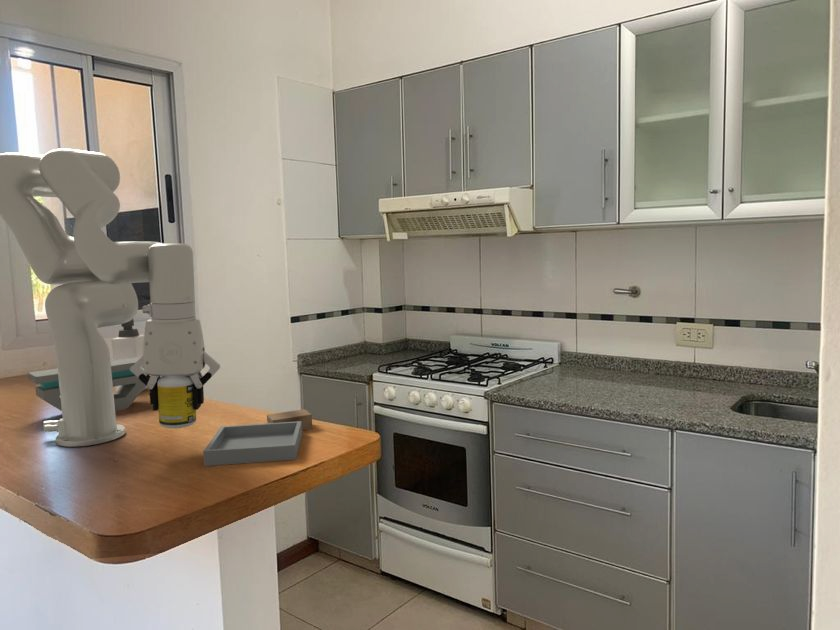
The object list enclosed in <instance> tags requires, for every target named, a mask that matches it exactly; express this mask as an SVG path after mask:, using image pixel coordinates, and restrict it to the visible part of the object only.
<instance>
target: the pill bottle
mask: <svg viewBox="0 0 840 630" xmlns="http://www.w3.org/2000/svg"><path fill="white" fill-rule="evenodd" d="M194 385H195V384H194V382H193V380H192V379H191V377H190V375H183V376H161V377H160V378H159V380H158V382H157V386H158V407H159V409H158V424H159V425H160V426H161V427H162V428H165V429H183V428H186V427H190V426H193V425H195V423H196V421H197V410H195V409H193V388H194Z"/></svg>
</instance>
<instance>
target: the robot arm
mask: <svg viewBox="0 0 840 630" xmlns="http://www.w3.org/2000/svg"><path fill="white" fill-rule="evenodd" d="M120 174H121V173H120V169H119V167H118V165H117V164H116V162H115V161H114V160H113V159H112V158H111V157H110V156H108V155H107V154H105V153H102V152H96V151H88V150H81V149H73V148H57V149H56V148H55V149H52V150H50V151H48V152H46V153H45V154H37V153H29V152H17V151H16V152H4V153H0V217H1V219H2V220H3V221H4V222H5V224H6V225H7V226H8V228H9V229H10V231H11V232H12V233H13V235H14V237H15V239H16V241H17V243H18V245H19V247H20V249H21V251H22V253H23V254H24V257H25V258H26V260H27V262H28V264H29V266H30V268H31V270H32V271H33V273H34V274H35V276H36V277H37V279H39V281H40V282H42V283H44V284H46V285H56V287H54V288H52V289H51V290H50V291H49V292H48V293H47V295H46V298H45V301H44V307H45V308H44V309H45V313H46V318H47V321H48V323H49V326H50V329H51V333H52V334H51V335H52V338H53V344H54V350H55V359H56V365H57V367H56V369H58V378H59V387H60V398H61V407H62V411H61V415H62V418H60V419H59V420H55V419H53V420H52V419H51V420H49V419H48V420H44V421H43V423H42V428H43V432H44V433H45V432H46V433H49V432H56V433H58V434H57V435H56V437H55V443H56V445H58V446H61V447H69V448H71V447H73V448H78V447H88V446H94V445H99V444H103V443H108V442H111V441H114V440H117V439H119V438H121V437H122V436H124V435H125V434H126V427H125V426H124V425H123V424H117V416H116V411H115V404H114V393H115V392H114V387H113V383H112V372H111V361H112V360H111V353H110V349H109V345H108V343H107V341H106V340H105V339H104V337H103V336H102V335H101V333H100V332H99V331H98V329H99V328H104V327H111V326H113V327H114V326H118V325H121V324H123V323H127V322H129V321H131V320H132V319H133V320H134V318H135V317H136V315H137V314H138V310H139V300H138V295H137V292H136V290H135V288H134V287H133V284H135V283H136V284H137V283H139V284H140V283H149V297H150V298H149V299H150V302H149V304H147V305H143V306H142V307H141V308H142V313H143V314H147V315H148V316H149V317H150V318H149V319H147V320H146V322H145V327H144V333H143V335H144V347H143V356H142V357H141V358H140V359H139V360H138V361H137V362H136V363H135V364H134V365H133V366H132V367H131V368H130V370H131V372H133V373H134V374H135V375H136V376H137V377H138V378H139V380H140V381H142V382H143V383H144V384H145V385H146V386H147V388H146V389H148V390H149V402H150V403H149V404H150V406H152V409H153V411H156V412H157V411H159V407H158V386H157V382H158V380H159V378H160V377H161V376H183V375H190V377H191V379H192V380H193V382H194V384H195V385H194V388H193V409H195V410H196V411H198V410H199V409H200V408H201V407H202V405H204V403H205V401H204V400H205V396H204V385H205V384H206V383H208V381H209V380H211V378H212V377H213V376H214V375H215V374H216V373H217V372H218V371H219V370H220V368H221V365H220V363H218V362H217V361H216V360H215V359H214V358H213V357H212V356H211V355H209V354H208V353H207V352H206V350H205V339H204V335H203V329H202V325H201V321H200V318H198V317H196V300H195V299H196V297H195V296H196V295H195V294H196V293H195V275H194V274H195V273H194V272H195V271H194V270H195V269H194V251H193V248H192V247H191V246H190V245H189V244H186V243H176V242H174V243H171V242H169V243H165V242H159V241H135V240H134V241H133V240H132V241H113V240H112V239H110V237H108V236H107V235H106V233H105V232H104V231H103V230H102V228H104V227H105V226H107V225H109V224H110V223H111V222H112V221H113V220H114V219H115V218H116V217H117V216H118V214H119V212H120V210H121V203H120V200H119V198H118V196H117V195H116V194H115V193H114V192H115V191H117V189H118V187H119V185H120V183H121V182H120V181H121V175H120ZM35 197H40V198H43V197H44V198H58V199H59V201H60V202H61V203H62V204H63V206H64V207H65V208H66V209H67V211H68V212H69V213H70V214H71V216H72V217H73V218H74V219H75V221H74V224H73V229H72V231H73V232H72V236H70V235H69V234H67V233H66V231H65V229H64V228H63V227H62V224H61V223H60V222H61V221H59V219H58V217H57V216H56V214H55V213H53V212H52V211H51V209H49V208H48V207H47V206H46V205H44V204H43V203H41V202H40V201H38V200H37V199H36V198H35ZM206 365H207V366H208V367H209V369H208V371H206V373H204V374H202V370H203V369H205V367H206ZM142 366H143V368H144V370H143V369H142Z"/></svg>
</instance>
